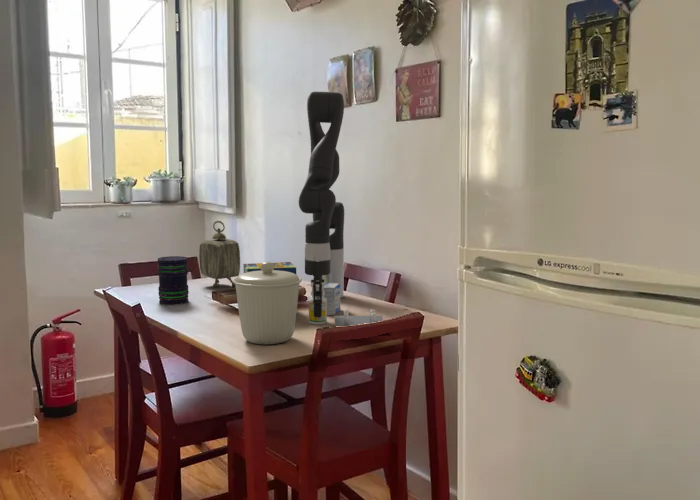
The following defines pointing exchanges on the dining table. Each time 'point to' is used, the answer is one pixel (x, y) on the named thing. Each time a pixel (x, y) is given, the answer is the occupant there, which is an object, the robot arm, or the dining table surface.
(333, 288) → the medicine box
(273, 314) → the canister
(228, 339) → the dining table surface
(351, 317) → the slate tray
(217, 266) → the tabletop clock
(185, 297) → the storage jar
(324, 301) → the supplement bottle
